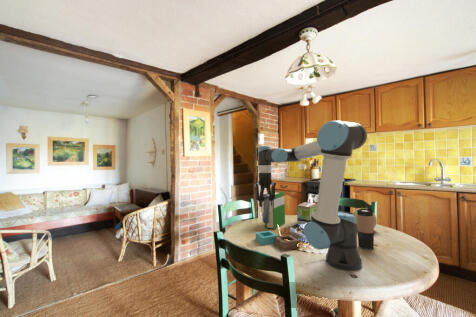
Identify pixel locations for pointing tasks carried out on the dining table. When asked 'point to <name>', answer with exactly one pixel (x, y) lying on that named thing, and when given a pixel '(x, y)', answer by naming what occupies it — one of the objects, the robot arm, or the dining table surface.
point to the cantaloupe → (373, 217)
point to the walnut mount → (286, 242)
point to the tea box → (305, 212)
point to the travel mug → (365, 228)
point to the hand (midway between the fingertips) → (265, 211)
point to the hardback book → (277, 211)
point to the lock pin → (266, 208)
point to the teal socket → (266, 237)
